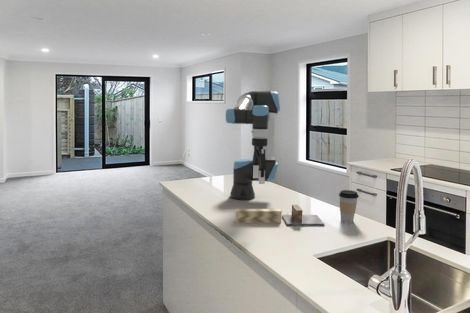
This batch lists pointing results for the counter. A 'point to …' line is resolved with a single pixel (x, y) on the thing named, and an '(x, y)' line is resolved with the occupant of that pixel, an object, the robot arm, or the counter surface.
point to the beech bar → (258, 215)
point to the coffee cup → (348, 205)
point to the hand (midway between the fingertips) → (258, 180)
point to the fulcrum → (301, 218)
